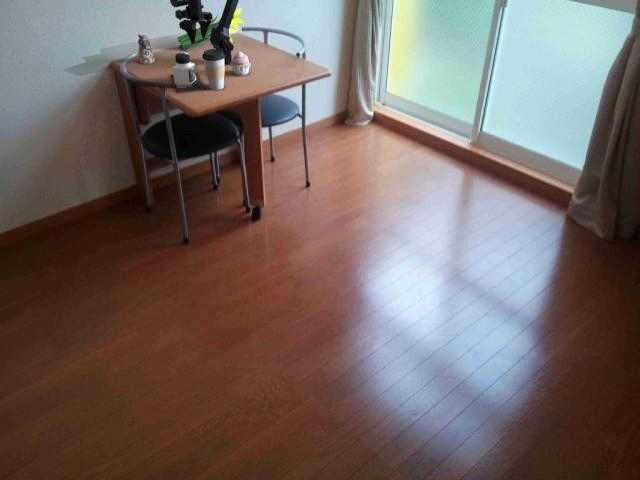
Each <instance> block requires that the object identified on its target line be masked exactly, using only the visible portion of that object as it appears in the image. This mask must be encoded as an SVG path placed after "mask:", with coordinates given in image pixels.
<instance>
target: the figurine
mask: <svg viewBox="0 0 640 480" xmlns="http://www.w3.org/2000/svg"><path fill="white" fill-rule="evenodd" d="M137 37H138V38H139V39H138V40H137V42H138V51H137V57H138V62H139V63H140V64H142V65H144V64H145V65H147V64H152V63H155V61H156V59H155V55H154V52H153V45H152V44H151V42H150V39H149V37H148V36H147V35H145V34H142V35H141V34H140V33H139V34H137Z"/></svg>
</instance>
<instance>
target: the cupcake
mask: <svg viewBox="0 0 640 480" xmlns="http://www.w3.org/2000/svg"><path fill="white" fill-rule="evenodd" d="M231 59H232V62H230V63H231V64H229V65H230V67H231V69H232V72H233V74H234V75H235V76H237V77H243V76H247V75H249V71H250V67H251V65H252V63H251V61H249V56H248V55H247V54H246V53H243V52H242V51H240V50H238V52H237V53H235V54H234V55H233V57H232V58H231Z"/></svg>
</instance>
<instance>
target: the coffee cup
mask: <svg viewBox="0 0 640 480" xmlns="http://www.w3.org/2000/svg"><path fill="white" fill-rule="evenodd" d="M201 58H202V59H203V62H204V69H205V73H206V77H207V82H208V86H209V89H210V90H213V91H220V90H222V89H224V87H225V86H224V85H225V68H226V67H225V66H226V65H225V63H224V58H225V54H224V53H223V51H222V50H219V49H215V48H210V49H206V50H204V51H203V53H202V56H201Z"/></svg>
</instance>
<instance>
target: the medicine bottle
mask: <svg viewBox="0 0 640 480" xmlns="http://www.w3.org/2000/svg"><path fill="white" fill-rule="evenodd" d="M174 58H175V65H174V66H173V67H172V75H174V81H173V83H174V82H175V83H174V85H175V84H183V83H191V84H192V83H193V82H194V81H195V80H196V73H197V72H196V66H195V63H193V62H191V55H190V53H187V52H178V53H176V54H175V55H174ZM195 72H196V73H195Z"/></svg>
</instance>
